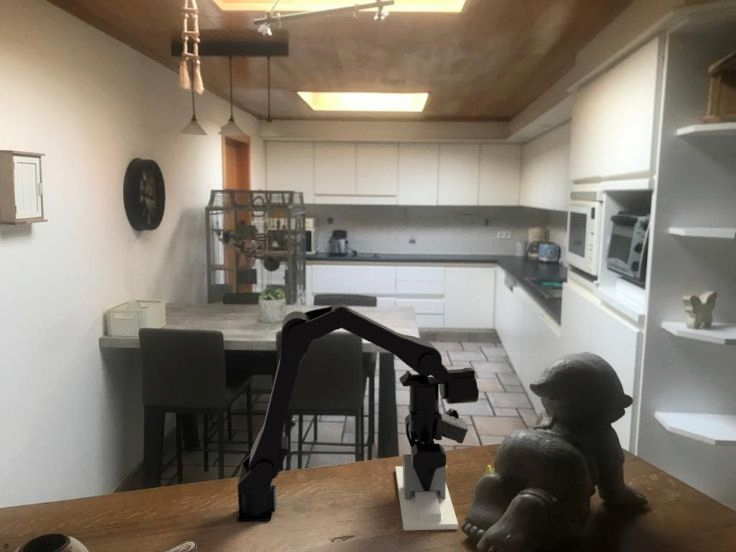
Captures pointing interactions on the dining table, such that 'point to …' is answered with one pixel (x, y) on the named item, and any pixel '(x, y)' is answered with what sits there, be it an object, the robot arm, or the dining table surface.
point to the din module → (414, 484)
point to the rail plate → (412, 510)
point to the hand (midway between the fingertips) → (423, 478)
